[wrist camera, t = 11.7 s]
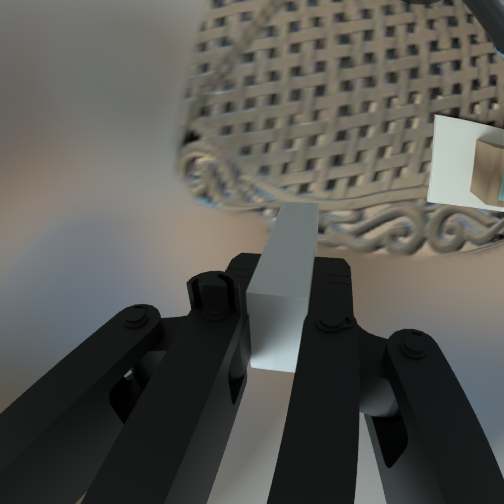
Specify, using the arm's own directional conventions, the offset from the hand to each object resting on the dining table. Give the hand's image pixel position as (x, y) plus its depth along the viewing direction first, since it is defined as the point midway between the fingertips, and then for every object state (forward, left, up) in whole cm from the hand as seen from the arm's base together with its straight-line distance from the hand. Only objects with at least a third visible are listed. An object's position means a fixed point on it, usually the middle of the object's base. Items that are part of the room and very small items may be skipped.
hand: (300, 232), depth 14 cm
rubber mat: (-15, +20, -32) cm, 41 cm away
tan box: (-14, +19, -29) cm, 37 cm away
